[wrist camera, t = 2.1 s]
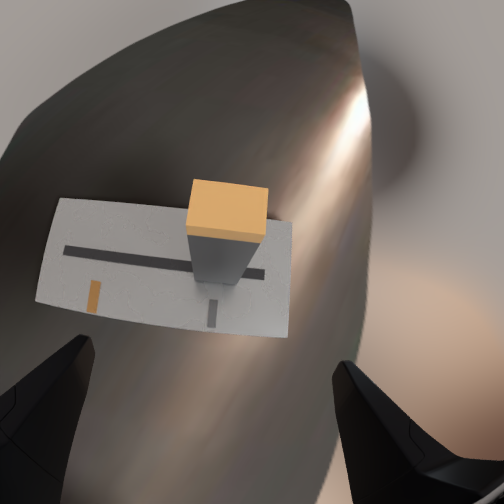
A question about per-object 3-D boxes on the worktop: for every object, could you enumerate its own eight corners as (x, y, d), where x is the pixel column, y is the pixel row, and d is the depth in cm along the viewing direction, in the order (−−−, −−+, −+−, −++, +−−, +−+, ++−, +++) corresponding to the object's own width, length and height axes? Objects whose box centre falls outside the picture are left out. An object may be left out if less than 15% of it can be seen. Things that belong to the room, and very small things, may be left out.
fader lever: (239, 257, 21) (268, 188, 12) (236, 284, 20) (265, 234, 11) (197, 252, 21) (193, 179, 11) (194, 279, 20) (185, 225, 11)
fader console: (287, 229, 24) (292, 222, 23) (282, 338, 22) (287, 337, 20) (66, 205, 22) (59, 197, 20) (43, 303, 19) (34, 300, 18)
